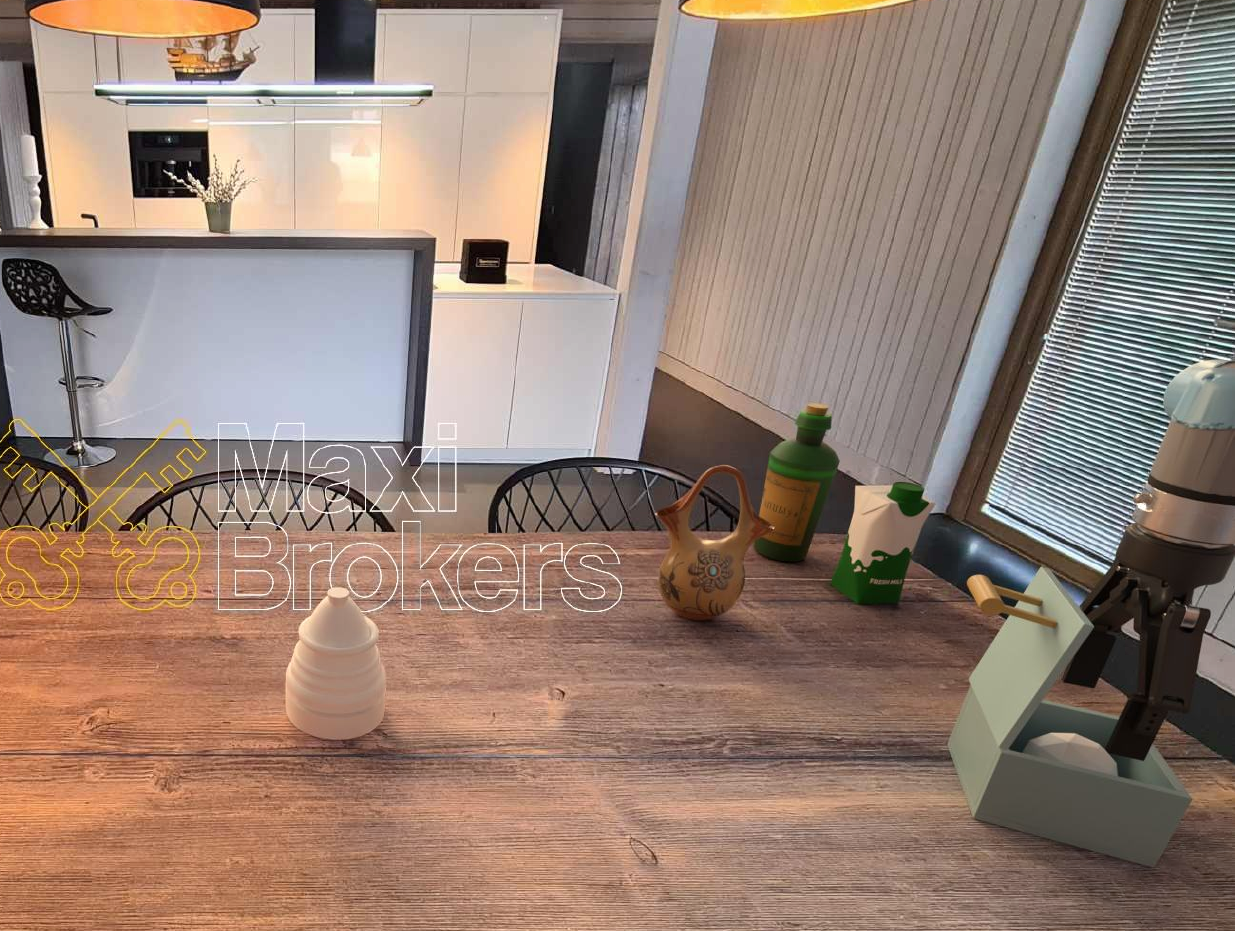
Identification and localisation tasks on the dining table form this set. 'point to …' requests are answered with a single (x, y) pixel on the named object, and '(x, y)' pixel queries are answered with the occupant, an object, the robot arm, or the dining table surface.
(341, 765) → the dining table surface
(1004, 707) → the compartment door
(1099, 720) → the compartment
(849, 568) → the milk carton
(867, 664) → the dining table surface
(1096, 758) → the geometric ball
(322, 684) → the honey pot
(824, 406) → the bottle
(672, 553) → the ceramic vessel
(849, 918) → the dining table surface
